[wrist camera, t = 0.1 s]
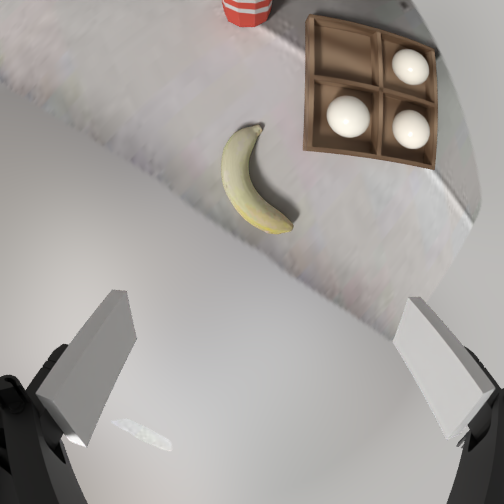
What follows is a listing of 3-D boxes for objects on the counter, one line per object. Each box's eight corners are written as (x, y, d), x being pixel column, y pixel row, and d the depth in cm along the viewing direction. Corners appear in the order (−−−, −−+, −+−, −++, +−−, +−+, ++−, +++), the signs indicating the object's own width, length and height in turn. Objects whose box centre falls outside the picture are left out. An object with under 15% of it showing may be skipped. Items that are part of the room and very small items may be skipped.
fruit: (245, 241, 41) (244, 249, 37) (209, 141, 35) (205, 140, 32) (292, 225, 40) (296, 233, 37) (260, 123, 35) (261, 121, 31)
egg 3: (385, 107, 32) (404, 103, 27) (417, 115, 32) (438, 114, 27) (384, 144, 34) (403, 145, 29) (415, 151, 34) (436, 153, 29)
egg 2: (384, 49, 29) (402, 39, 24) (415, 60, 29) (435, 52, 24) (385, 82, 31) (404, 75, 26) (417, 91, 31) (437, 87, 26)
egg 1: (322, 96, 32) (334, 88, 27) (360, 102, 32) (377, 96, 27) (321, 135, 34) (332, 134, 29) (359, 140, 34) (376, 140, 29)
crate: (305, 22, 28) (309, 14, 25) (424, 52, 28) (434, 48, 26) (302, 150, 35) (307, 150, 33) (423, 167, 36) (434, 170, 33)
